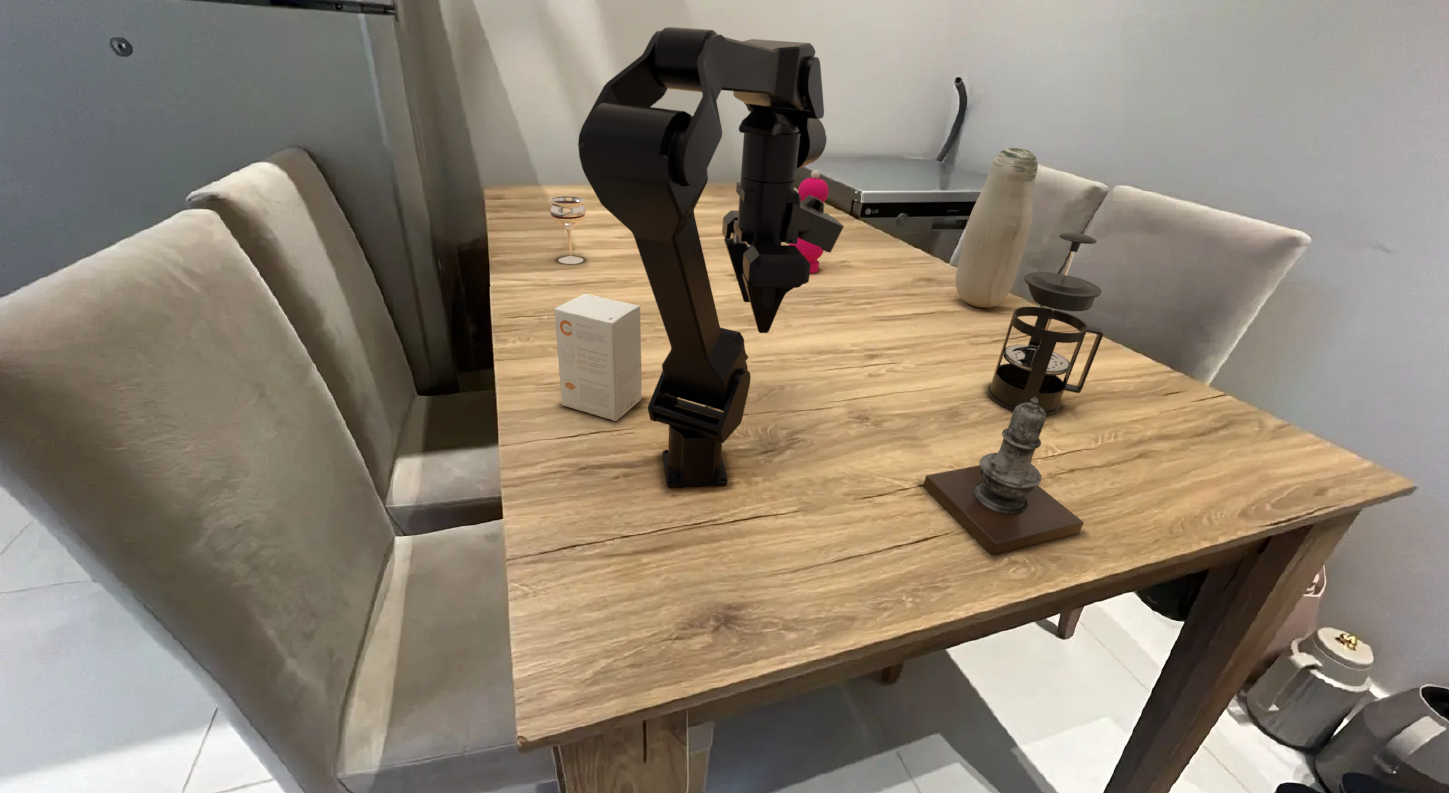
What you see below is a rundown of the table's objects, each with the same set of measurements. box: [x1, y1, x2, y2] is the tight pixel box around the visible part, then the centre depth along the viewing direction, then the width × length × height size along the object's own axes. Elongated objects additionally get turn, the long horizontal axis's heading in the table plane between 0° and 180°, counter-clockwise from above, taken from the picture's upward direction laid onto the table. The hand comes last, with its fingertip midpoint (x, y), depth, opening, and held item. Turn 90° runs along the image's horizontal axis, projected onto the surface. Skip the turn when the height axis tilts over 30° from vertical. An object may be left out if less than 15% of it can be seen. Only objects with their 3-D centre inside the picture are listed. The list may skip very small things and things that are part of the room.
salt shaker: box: [974, 397, 1047, 514], centre depth 62 cm, size 6×6×12 cm
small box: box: [553, 293, 643, 422], centre depth 76 cm, size 8×6×13 cm
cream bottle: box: [955, 147, 1039, 308], centre depth 113 cm, size 10×10×28 cm
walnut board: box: [923, 464, 1085, 556], centre depth 65 cm, size 11×11×2 cm
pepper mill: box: [788, 169, 829, 274], centre depth 127 cm, size 7×7×20 cm
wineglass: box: [549, 195, 586, 265], centre depth 125 cm, size 7×7×12 cm
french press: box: [986, 232, 1104, 417], centre depth 82 cm, size 12×9×23 cm
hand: (755, 316), depth 74 cm, fingers open, 9 cm apart
